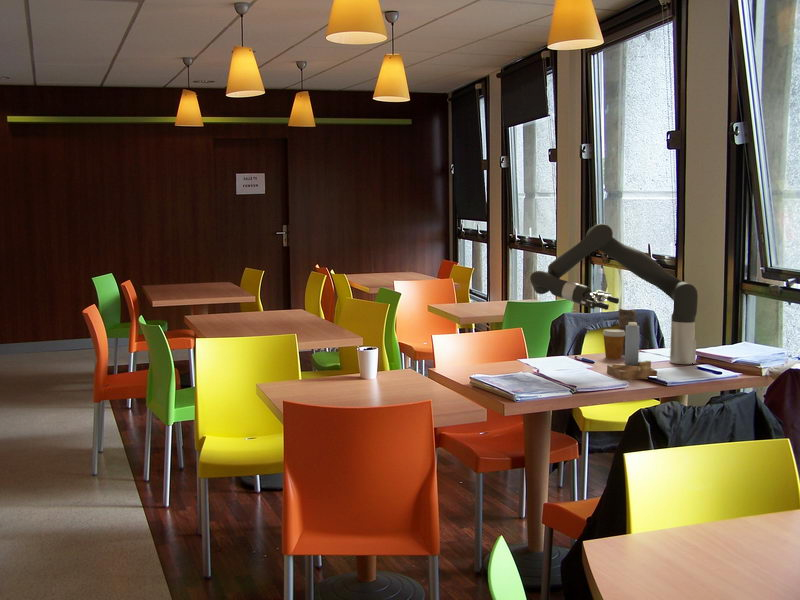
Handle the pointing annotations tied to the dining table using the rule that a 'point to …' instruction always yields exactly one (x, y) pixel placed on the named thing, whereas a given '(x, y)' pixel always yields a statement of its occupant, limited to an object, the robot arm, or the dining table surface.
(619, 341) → the disposable coffee cup
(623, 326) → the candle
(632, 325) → the flask
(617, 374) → the display stand
